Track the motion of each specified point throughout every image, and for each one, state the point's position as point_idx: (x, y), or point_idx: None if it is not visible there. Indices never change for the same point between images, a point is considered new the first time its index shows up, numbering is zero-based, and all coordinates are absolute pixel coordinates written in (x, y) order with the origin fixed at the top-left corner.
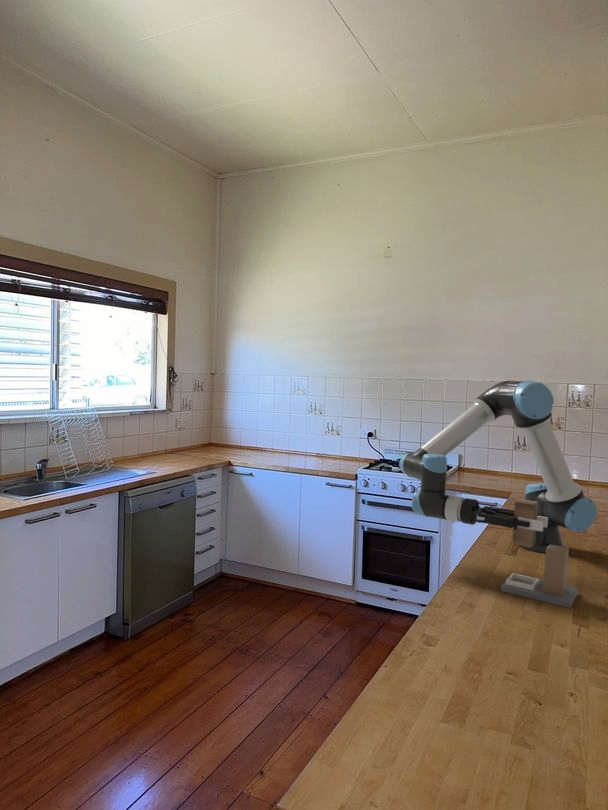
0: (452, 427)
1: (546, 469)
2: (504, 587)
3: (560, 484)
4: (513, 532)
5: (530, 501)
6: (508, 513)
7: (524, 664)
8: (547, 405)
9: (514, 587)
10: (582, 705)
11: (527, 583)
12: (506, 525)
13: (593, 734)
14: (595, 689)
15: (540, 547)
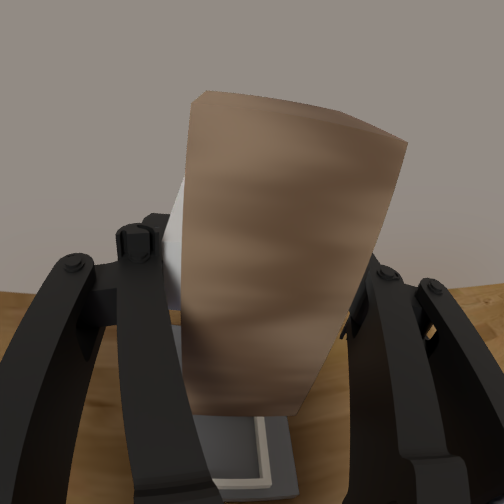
0: None
1: None
2: (296, 483)
3: None
4: (316, 373)
5: (236, 96)
6: (178, 370)
7: (495, 341)
8: None
9: (278, 458)
10: (488, 294)
11: (204, 436)
12: (434, 347)
13: (500, 286)
14: (463, 291)
15: None
